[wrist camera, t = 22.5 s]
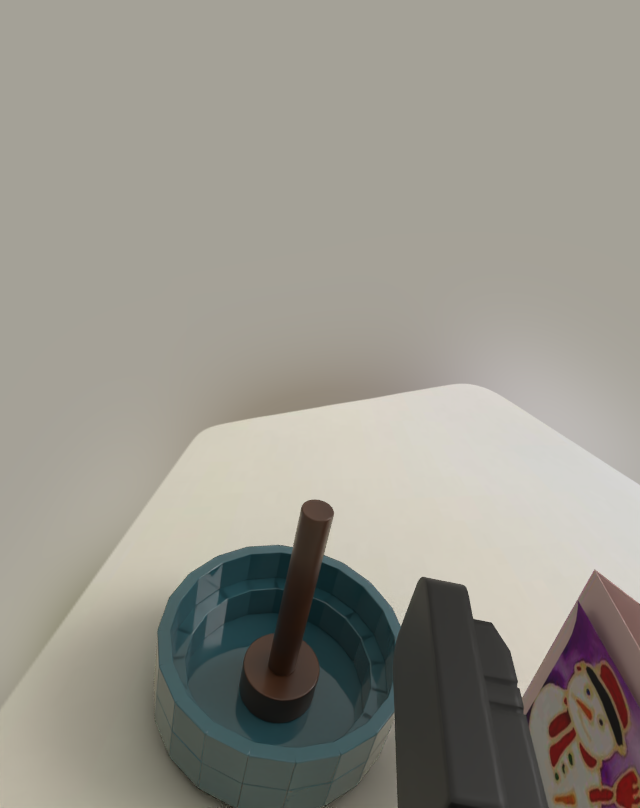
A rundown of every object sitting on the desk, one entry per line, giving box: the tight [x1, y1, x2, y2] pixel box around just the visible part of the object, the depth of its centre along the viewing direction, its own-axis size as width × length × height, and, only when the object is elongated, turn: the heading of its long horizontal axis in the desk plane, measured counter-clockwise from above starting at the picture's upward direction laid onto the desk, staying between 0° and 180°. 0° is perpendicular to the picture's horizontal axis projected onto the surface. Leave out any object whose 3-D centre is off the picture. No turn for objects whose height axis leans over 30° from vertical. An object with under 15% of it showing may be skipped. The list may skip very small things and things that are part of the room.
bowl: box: [154, 545, 401, 808], centre depth 38 cm, size 16×16×6 cm
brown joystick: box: [239, 500, 334, 723], centre depth 35 cm, size 5×5×15 cm
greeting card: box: [522, 570, 640, 808], centre depth 32 cm, size 11×7×15 cm, turn 0°
